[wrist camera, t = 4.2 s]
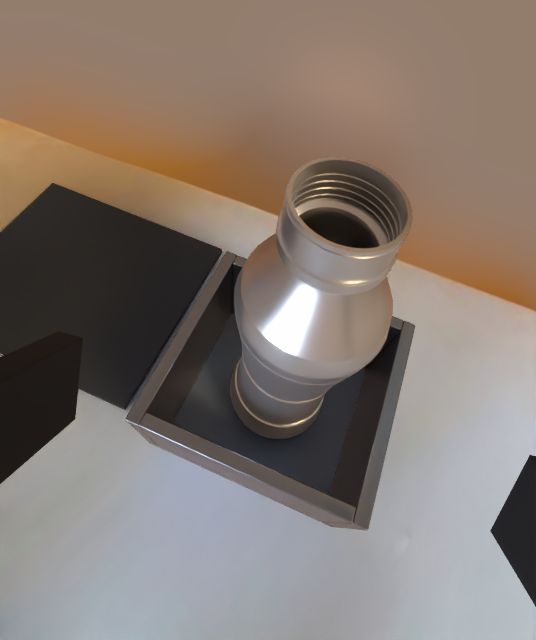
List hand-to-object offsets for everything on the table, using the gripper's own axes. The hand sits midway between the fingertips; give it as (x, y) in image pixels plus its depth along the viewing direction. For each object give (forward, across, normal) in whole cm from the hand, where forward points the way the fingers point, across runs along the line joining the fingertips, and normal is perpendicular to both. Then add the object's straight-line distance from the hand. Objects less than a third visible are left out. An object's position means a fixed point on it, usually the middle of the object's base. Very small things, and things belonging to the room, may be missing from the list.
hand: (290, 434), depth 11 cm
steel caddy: (+16, 0, -7) cm, 17 cm away
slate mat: (+20, -18, -3) cm, 27 cm away
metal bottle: (+16, 0, -8) cm, 17 cm away
